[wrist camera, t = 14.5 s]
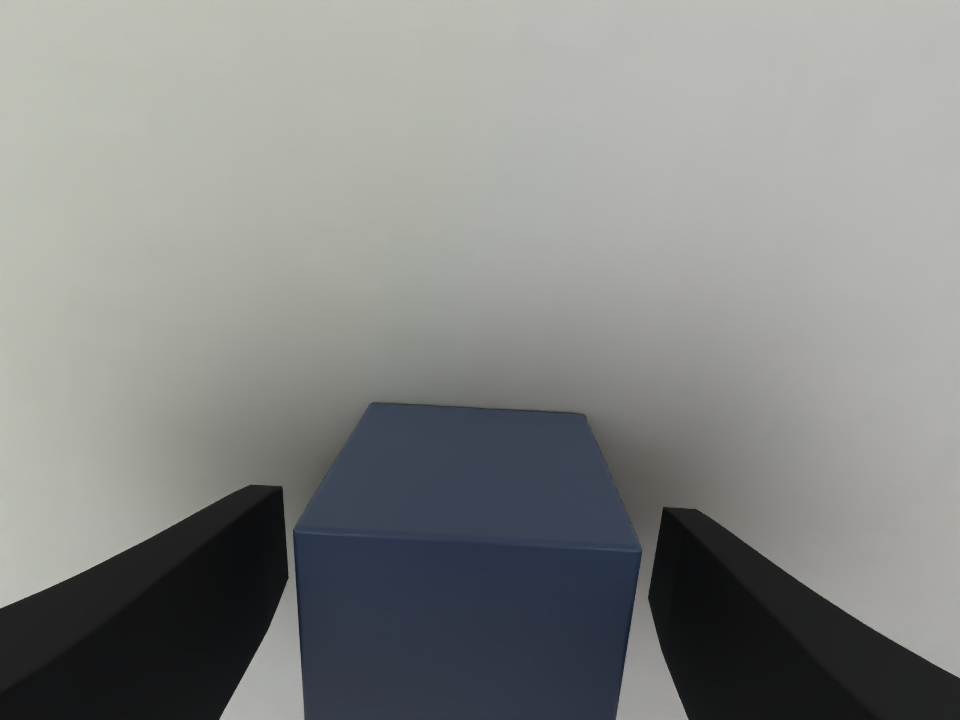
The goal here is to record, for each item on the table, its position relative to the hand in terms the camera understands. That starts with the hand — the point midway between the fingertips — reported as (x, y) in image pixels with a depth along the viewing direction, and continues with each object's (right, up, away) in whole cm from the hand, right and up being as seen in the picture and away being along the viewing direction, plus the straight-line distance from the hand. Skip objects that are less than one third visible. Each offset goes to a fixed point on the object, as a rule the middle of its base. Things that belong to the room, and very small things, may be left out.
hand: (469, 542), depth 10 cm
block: (0, 0, +1) cm, 1 cm away
